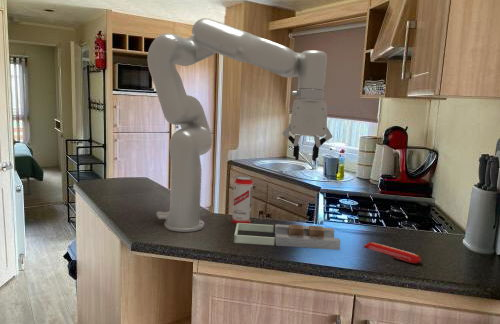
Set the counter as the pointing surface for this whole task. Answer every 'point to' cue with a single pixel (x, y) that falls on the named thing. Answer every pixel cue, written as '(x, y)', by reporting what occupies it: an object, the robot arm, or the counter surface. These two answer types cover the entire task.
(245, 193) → the beer can
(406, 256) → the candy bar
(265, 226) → the tray
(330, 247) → the slot channel
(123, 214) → the counter surface
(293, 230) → the walnut block
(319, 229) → the walnut block
